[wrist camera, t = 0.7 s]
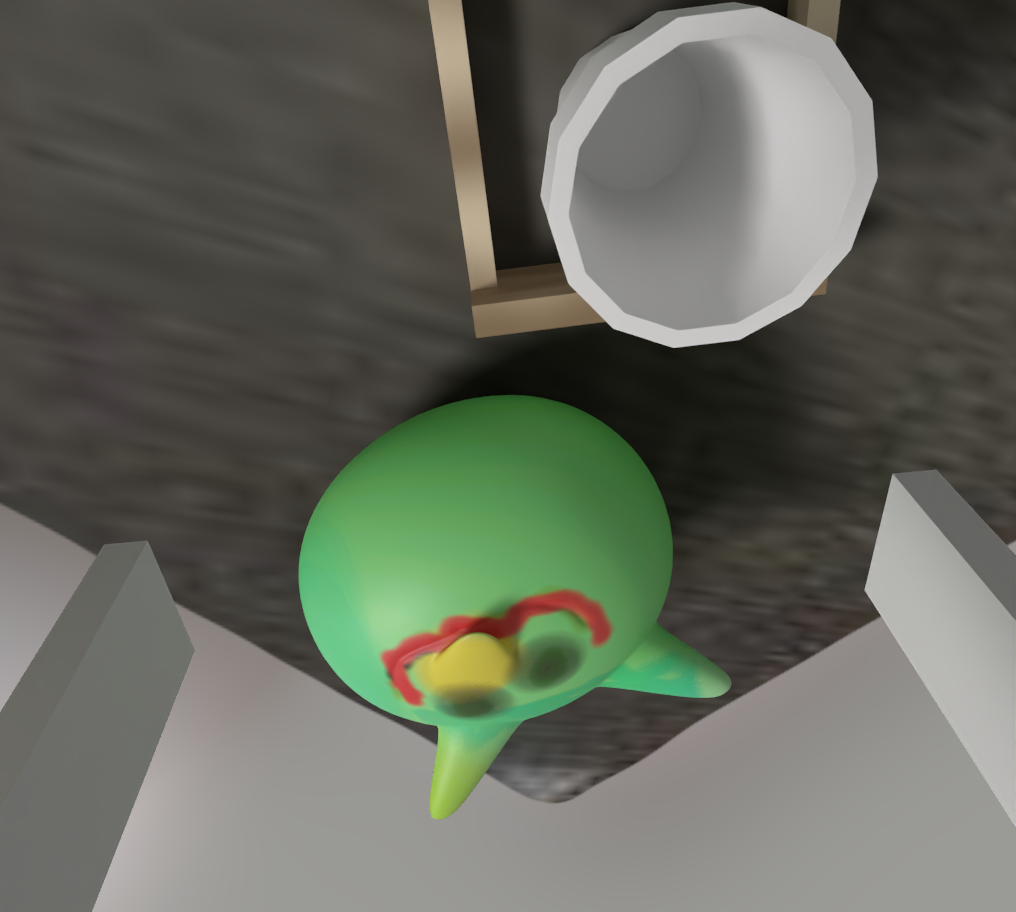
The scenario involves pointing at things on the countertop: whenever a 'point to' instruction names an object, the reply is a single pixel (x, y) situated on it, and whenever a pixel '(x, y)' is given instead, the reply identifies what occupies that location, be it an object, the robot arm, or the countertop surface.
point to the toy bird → (494, 576)
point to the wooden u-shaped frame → (494, 294)
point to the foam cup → (707, 172)
